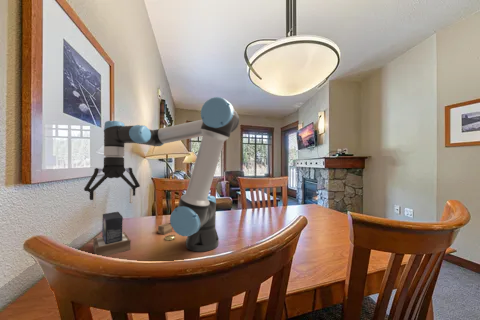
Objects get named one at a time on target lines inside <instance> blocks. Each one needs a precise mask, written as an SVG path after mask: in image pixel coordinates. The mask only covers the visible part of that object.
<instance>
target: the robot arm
mask: <svg viewBox="0 0 480 320" xmlns="http://www.w3.org/2000/svg"><path fill="white" fill-rule="evenodd" d="M200 118H201V119H198V120H194V121H190V122H188V121H187V122H185V123H180V124H176V125H171V126H166V127H162V128H157V129H150V128H148V126H146V125H143V124H141V125H140V124H136V125H125V123H124V122H122V121H118V120H107V121H105V122H104V125H103V127H104V128H103V156H104V157H103V167H102V168H98V167H95V168H94V170H93V174H92V175H91V177H90V179H89V181H88V182H87V183H86V185H85V187H84V188H83V190H84V192H88V193H89V200H90V201H92V208H93V209H96V206H97V205H96V204H97V203H96V202H97V192H96V190H97V188H99V187H100V186H101V185H102V184H103V182H105V180H107V179H118V178H121V179H122V180H123V181H124V182H125V183H126V184H127V185H128V186H129V187H130V188H129V203H130V204H131V205H132V204H134V202H133V201H134V197H135V196H136V189H137V188H140V187H141V185H140V182H139V180H137V178H136V176H135V174H134V172H133V168H132V167H125V157H124V156H125V144H138V145H145V146H152V147H162V146H163V145H164V144H170V143H173V142H179V141H183V140H185V141H186V140H188V139H189V140H190V139H194V138H199V137H202V138H201V140H200V141H201V142H200V145H199V148H198V151H197V154H196V159H195V162H194V165H193V168H192V171H191V175H190V178H189V182H188V185H187V189H186V192H185V193H184V194H182V195H181V196H180V199H179V201H178V206H177V207H175V208H174V209H173V211H172V212H171V214H170V217H169V222H170V223H169V224H171V226H172V231H174V232H175V233H176V234H178V235H179V236H181V237H186V240H185V247H186V249H188V250H189V251H193V252H197V253H198V252H200V253H201V252H209V251H211V250H214V249H216V248H217V247H218V246H219V244H220V243H219V240H220V239H219V236H218V232H217V229H216V212H217V209H216V207H217V200H216V199H217V198H216V196H214V195H209V193H210V190H211V187H212V183H213V179H214V176H215V175H216V174H215V173H216V170H217V166H218V163H219V159H220V156H221V153H222V150H223V147H224V144H225V142H226V141H227V140H228V139H230V136H231V134H232V133H233V132H235V131H236V130H237V128H238V127H239V124H240V116H239V113H238V112H237V110H236V109H235V108H234V106H233V105H232V103H231V102H229V100H227V99H226V98H224V97H221V96H220V97H219V96H215V97H211V98H209V99H207V100H206V101H205V102H204V103H203V105H202V107H201V110H200ZM101 172H102V173H103V174H104V175H102V176H101V178H100V179H99V180H98V181H97V182H95V184H94V185H93V186H92V184H93V182H94V181H95V179H96V178H97V177H98V174H101ZM125 172H126V173H127V174H128V175H129V177H130V179H131V180H132V182H133V183H132V182H131V181H130V179H128V178H127V177H126V176H125V174H124V173H125ZM90 187H91V188H90Z"/></svg>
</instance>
